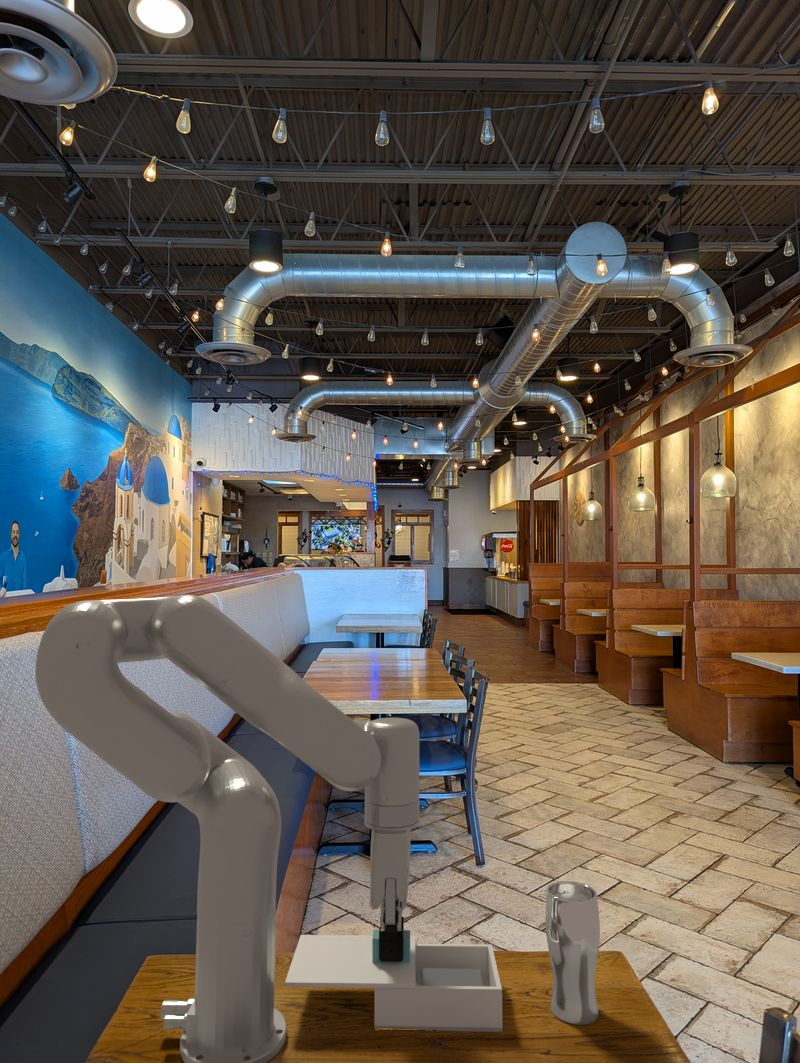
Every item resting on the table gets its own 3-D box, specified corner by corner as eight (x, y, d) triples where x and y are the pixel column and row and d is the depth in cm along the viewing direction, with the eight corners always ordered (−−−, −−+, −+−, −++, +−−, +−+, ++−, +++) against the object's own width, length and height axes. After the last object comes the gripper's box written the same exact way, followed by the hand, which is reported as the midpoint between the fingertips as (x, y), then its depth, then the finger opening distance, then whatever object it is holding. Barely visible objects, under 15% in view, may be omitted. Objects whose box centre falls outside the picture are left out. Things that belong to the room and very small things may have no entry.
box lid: (284, 986, 84) (285, 957, 85) (300, 938, 96) (301, 912, 97) (415, 988, 84) (415, 958, 85) (415, 939, 96) (415, 913, 96)
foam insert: (422, 1014, 87) (422, 993, 87) (421, 987, 93) (421, 968, 93) (484, 1015, 87) (484, 994, 87) (479, 988, 92) (479, 968, 93)
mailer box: (374, 1030, 84) (374, 987, 85) (378, 980, 95) (378, 943, 96) (502, 1031, 84) (502, 989, 84) (492, 981, 95) (491, 944, 95)
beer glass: (610, 1026, 85) (606, 902, 86) (555, 1028, 85) (553, 903, 86) (591, 994, 92) (588, 879, 93) (541, 996, 92) (539, 880, 93)
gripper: (368, 794, 100) (367, 925, 98) (360, 832, 84) (358, 988, 82) (418, 795, 100) (418, 925, 98) (420, 832, 84) (420, 989, 82)
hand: (391, 952), depth 90 cm, fingers closed on box lid, 2 cm apart
